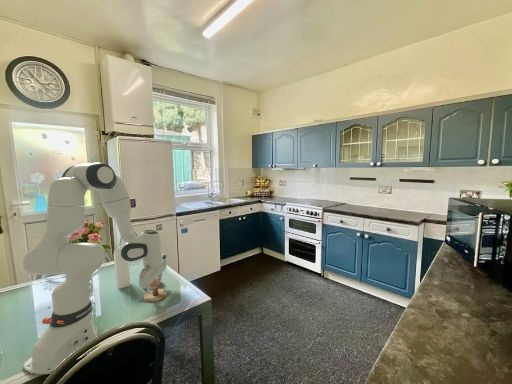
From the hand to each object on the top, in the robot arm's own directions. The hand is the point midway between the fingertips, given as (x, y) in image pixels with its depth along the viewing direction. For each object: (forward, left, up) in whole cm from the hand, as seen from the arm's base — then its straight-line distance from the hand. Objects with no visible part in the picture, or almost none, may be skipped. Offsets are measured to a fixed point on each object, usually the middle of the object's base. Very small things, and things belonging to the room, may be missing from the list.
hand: (154, 285), depth 123 cm
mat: (-1, -1, -5) cm, 5 cm away
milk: (+7, +24, -5) cm, 26 cm away
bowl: (+9, +8, -5) cm, 13 cm away
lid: (-1, -1, -5) cm, 5 cm away
